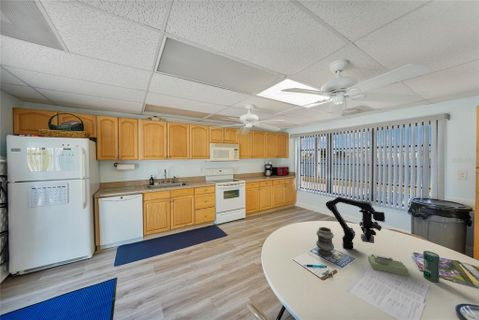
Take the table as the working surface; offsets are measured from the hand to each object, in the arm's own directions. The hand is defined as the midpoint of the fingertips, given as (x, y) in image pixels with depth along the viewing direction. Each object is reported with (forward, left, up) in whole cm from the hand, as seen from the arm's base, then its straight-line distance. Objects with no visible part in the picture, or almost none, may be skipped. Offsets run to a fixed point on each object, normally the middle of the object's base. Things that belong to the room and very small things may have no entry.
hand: (367, 239), depth 128 cm
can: (+27, -18, -11) cm, 34 cm away
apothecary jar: (-29, -11, -11) cm, 33 cm away
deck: (+7, -13, -10) cm, 18 cm away
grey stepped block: (0, 0, -1) cm, 1 cm away
